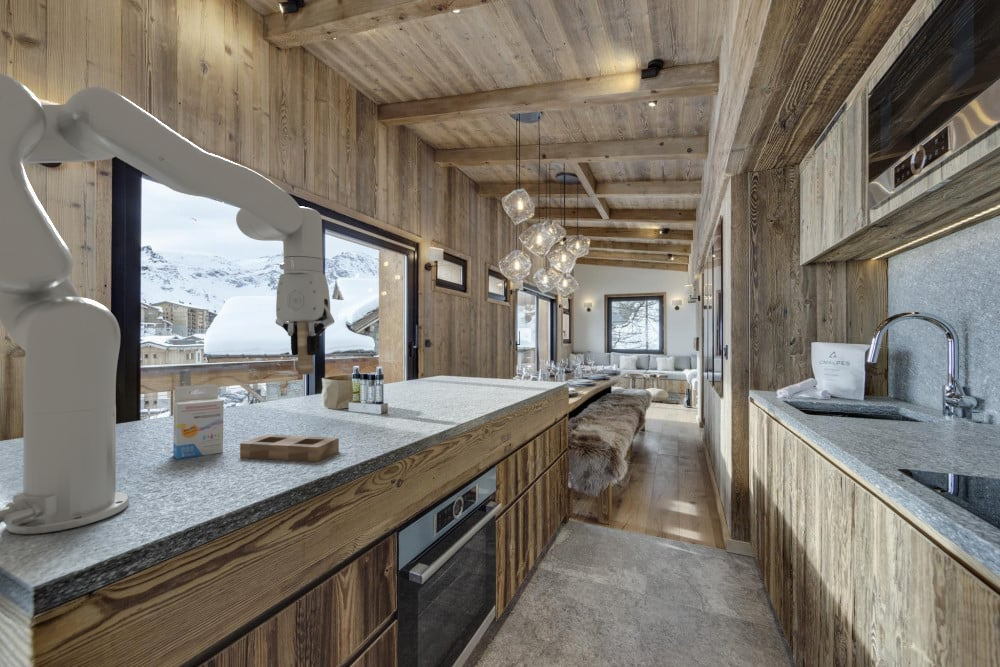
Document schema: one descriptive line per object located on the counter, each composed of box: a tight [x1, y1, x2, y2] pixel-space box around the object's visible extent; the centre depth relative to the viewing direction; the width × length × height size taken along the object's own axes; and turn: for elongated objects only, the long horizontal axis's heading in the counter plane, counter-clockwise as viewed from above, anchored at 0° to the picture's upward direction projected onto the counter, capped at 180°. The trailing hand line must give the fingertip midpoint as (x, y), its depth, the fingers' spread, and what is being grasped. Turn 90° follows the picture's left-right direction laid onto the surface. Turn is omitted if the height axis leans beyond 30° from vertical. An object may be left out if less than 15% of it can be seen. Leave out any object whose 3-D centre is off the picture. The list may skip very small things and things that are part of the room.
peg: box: [297, 321, 315, 375], centre depth 92 cm, size 3×3×12 cm
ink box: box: [172, 383, 224, 460], centre depth 95 cm, size 8×5×15 cm, turn 134°
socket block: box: [239, 434, 340, 463], centre depth 95 cm, size 8×18×3 cm, turn 81°
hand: (305, 353), depth 92 cm, fingers closed on peg, 3 cm apart
